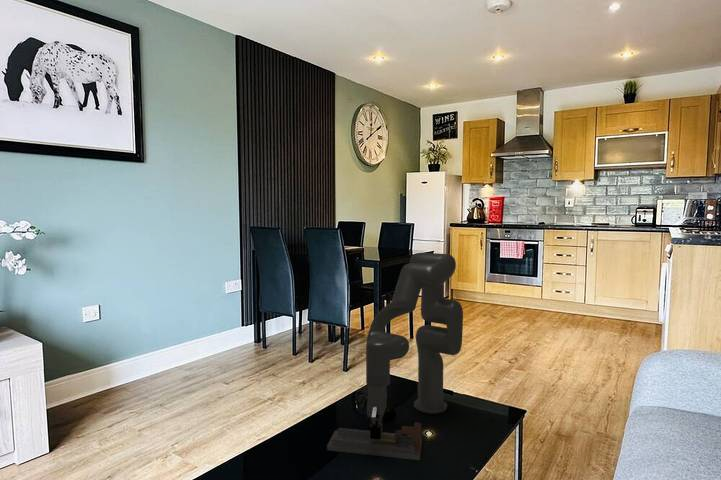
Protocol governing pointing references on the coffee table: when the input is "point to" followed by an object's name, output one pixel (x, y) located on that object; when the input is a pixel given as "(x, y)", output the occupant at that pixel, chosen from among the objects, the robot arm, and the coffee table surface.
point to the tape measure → (389, 413)
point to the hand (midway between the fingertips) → (378, 430)
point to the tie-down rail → (362, 443)
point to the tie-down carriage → (389, 436)
